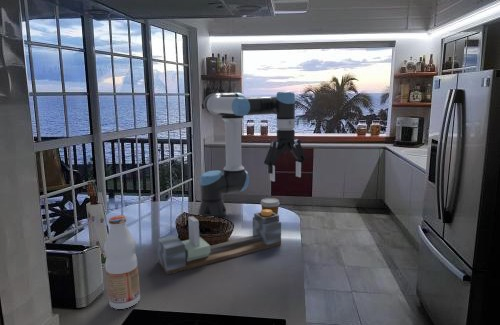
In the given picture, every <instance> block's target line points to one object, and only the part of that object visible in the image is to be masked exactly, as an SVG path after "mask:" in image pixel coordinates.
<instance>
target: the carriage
mask: <svg viewBox="0 0 500 325" xmlns="http://www.w3.org/2000/svg"><path fill="white" fill-rule="evenodd" d="M187 220H188V223H187V224H188V239H186V240H181V241H182V242H183V243H184V244H185V256H186V261H187V262H188V261H191V260H195V259H199V258H203V257H207V256H209V253H211V252H210V246H211V245H210V244H209V243H208V242H207V241H206V240H205V239H203V238H202V237H201V236H200V228H199V227H200V222H199V220H198V219H197V218H196V217H195V216H194V215H191V216H188V218H187Z"/></svg>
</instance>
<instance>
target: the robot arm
mask: <svg viewBox="0 0 500 325" xmlns="http://www.w3.org/2000/svg"><path fill="white" fill-rule="evenodd" d="M203 108H204V111H205V112H206V113H208V114H209V115H212V116H221V119H222V121H223V122H224V139H225V141H224V142H225V143H224V144H225V145H224V146H225V166H224V167H223V171H221V170H217V169H216V170H209V171H206V172H204V173H202V174H201V175H200V177H199V180H200V181H199V185H200V186H199V187H200V204H199V208H198V211H197V212H198V214H197V215H202V216H214V217H221V218H224V217H225V216H227V208H226V206H225V203H224V200H223V199H224V198H223V195H227V194H232V193H233V194H234V193H240V192H243V191H245V190H246V189H247V188H248V187H249V182H250V176H249V172H248V171H247V170H246V169H245V166H244V165H242V164H243V161H242V159H243V158H242V121H243V119H244V117H245V116H255V115H256V116H258V115H260V116H261V115H276V129H277V130H276V140H277V141H276V142H275V141H271V142H269V143H270V144H269V145H270V146H269V149H268V151H267V155H266V157H265V158H264V161H263V164H264V165H265V166H267V167H268V174H269V181H271V182H276V171H275V170H276V166H275V165H274V164H275V163H276V162H277V160H278V159H279V157H280V156H281V154H282V153H283V152H284V153H286V152H290V153H291V154H292V155H293V157H294V158H295V159H296V161H295V177H298V178H301V177H302V169H303V163H304V162H305V161H306V160H307V157H306V155H305V152H304V150H303V147H302V144H301V143H302V142H301V139H297V138H296V136H295V134H296V133H295V127H296V126H295V124H296V120H295V118H296V95H295V92H294V91H278V92H276V96H270V95H269V96H267V95H266V96H252V97H251V96H245V94H244V93H241V92H235V91H233V92H213V93H210V94H208V95H207V96H206V97H205V98H204V100H203ZM294 146H295V147H294Z"/></svg>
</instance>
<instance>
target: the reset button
mask: <svg viewBox="0 0 500 325" xmlns="http://www.w3.org/2000/svg"><path fill="white" fill-rule="evenodd" d="M260 212H261V216H262V217H264V218H265V217H269V216H272V210H269V209H264V210H262V209H261V210H260Z"/></svg>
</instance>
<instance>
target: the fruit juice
mask: <svg viewBox="0 0 500 325" xmlns="http://www.w3.org/2000/svg"><path fill="white" fill-rule="evenodd" d="M108 224H109V225H110V227H109V231H108V235H107V237H106V240H105V242H104V244H103V249H104V253H105V256H106V259H105V265H104V266H105V274H106V284H107V294H108V296H107V297H108V303H109V306H110V308H112V307H113V308H117V309H124V308H128V307H131V306H133V305H135V304H136V303H137V304H138V303H139V302H140V300H141V290H140V278H139V276H140V275H139V265H138V264H139V263H138V257H137V254H136V240H135V238H134V237H133V236H132V234H131V232H130V230H129V228H128V226H127V225H126V224H127V217H126V216H125V215H115V216H111V217H110V218H109V220H108ZM138 301H139V302H138ZM137 304H136V305H137ZM136 305H135V306H136ZM133 307H134V306H133ZM113 308H112V309H113ZM131 308H132V307H131ZM117 309H116V310H117ZM128 309H129V308H128ZM124 310H125V309H124Z"/></svg>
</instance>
